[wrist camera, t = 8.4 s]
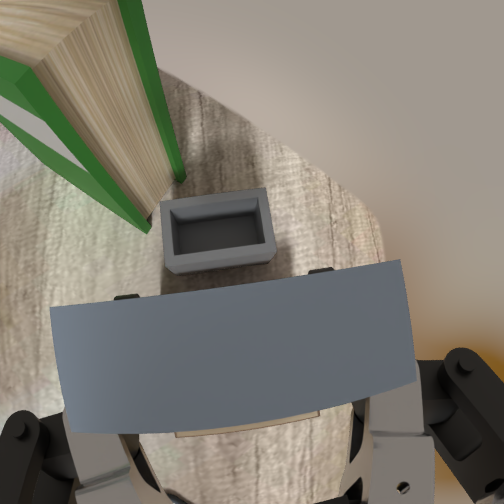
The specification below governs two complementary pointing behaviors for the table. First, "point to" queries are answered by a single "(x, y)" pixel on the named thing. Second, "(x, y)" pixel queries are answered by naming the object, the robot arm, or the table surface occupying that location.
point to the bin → (217, 231)
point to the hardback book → (90, 99)
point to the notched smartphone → (175, 499)
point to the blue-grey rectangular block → (234, 352)
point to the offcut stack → (248, 426)
